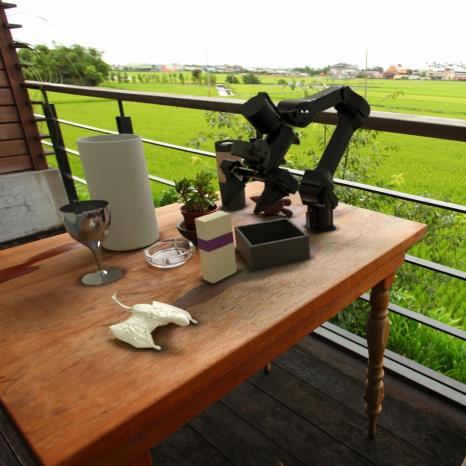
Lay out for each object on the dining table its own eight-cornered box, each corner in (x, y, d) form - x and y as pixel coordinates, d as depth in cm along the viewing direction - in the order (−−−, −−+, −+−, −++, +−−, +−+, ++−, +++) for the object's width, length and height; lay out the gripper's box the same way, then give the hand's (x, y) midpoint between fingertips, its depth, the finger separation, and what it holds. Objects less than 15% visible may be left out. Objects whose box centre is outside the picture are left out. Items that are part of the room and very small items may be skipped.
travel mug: (240, 201, 126) (234, 139, 119) (251, 207, 121) (245, 142, 113) (217, 205, 122) (209, 141, 114) (227, 212, 116) (220, 144, 109)
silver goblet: (127, 265, 83) (112, 198, 78) (121, 282, 77) (104, 210, 71) (84, 270, 81) (65, 202, 75) (74, 289, 74) (53, 214, 68)
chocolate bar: (203, 279, 78) (194, 218, 73) (227, 268, 83) (220, 210, 78) (213, 283, 76) (204, 222, 72) (237, 271, 81) (230, 213, 76)
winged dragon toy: (83, 328, 63) (76, 306, 61) (138, 298, 71) (133, 278, 70) (164, 360, 56) (159, 336, 54) (214, 322, 64) (211, 301, 63)
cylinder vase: (101, 256, 87) (72, 143, 78) (103, 237, 97) (78, 135, 88) (162, 246, 93) (142, 140, 83) (158, 229, 103) (140, 132, 94)
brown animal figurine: (240, 193, 112) (283, 205, 107) (255, 181, 117) (297, 192, 112) (244, 213, 116) (286, 225, 111) (259, 201, 122) (300, 212, 116)
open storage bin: (288, 238, 98) (287, 217, 96) (309, 257, 88) (309, 235, 86) (236, 248, 92) (234, 226, 90) (252, 270, 82) (250, 247, 80)
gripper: (221, 120, 83) (182, 181, 78) (286, 127, 73) (247, 197, 69) (252, 152, 92) (219, 208, 87) (313, 162, 82) (280, 226, 78)
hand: (239, 209), depth 80 cm, fingers open, 9 cm apart
